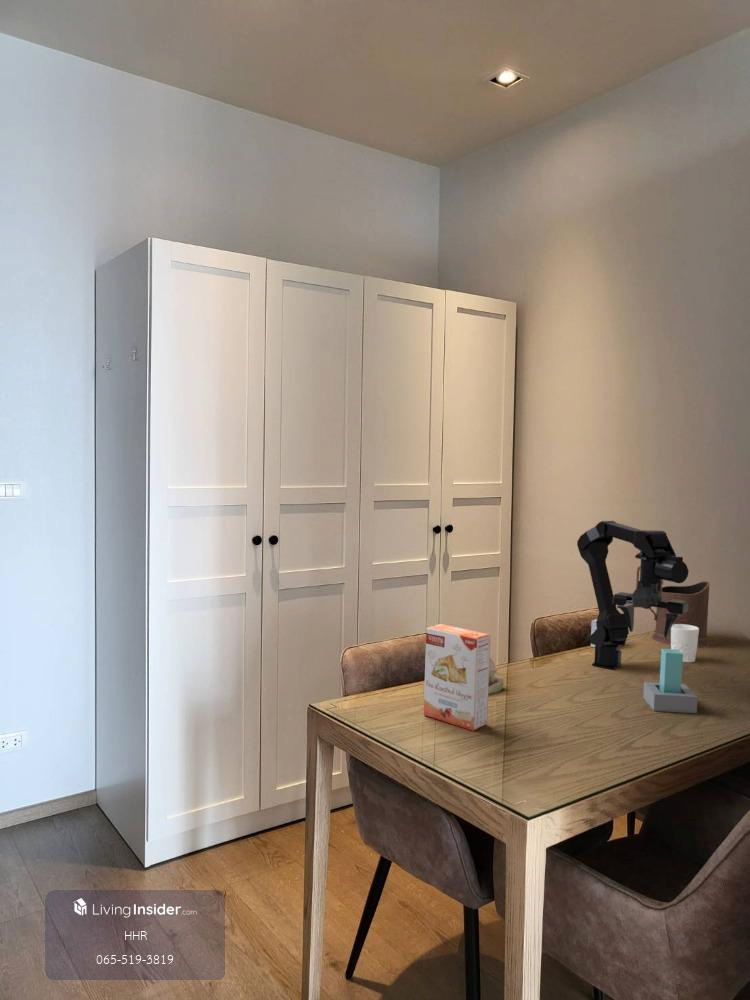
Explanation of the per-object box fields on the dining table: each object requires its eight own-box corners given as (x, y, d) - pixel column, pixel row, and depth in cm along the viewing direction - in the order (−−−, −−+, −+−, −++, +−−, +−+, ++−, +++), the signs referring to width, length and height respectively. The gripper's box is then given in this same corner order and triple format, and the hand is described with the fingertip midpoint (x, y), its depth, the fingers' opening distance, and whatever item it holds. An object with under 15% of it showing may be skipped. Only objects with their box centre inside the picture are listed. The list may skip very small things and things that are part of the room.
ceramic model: (463, 698, 190) (465, 659, 190) (439, 686, 200) (440, 648, 200) (509, 692, 197) (511, 653, 196) (484, 679, 207) (485, 643, 206)
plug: (663, 705, 187) (665, 652, 186) (658, 700, 191) (661, 648, 190) (680, 706, 187) (682, 653, 186) (675, 701, 191) (678, 649, 190)
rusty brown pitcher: (716, 650, 244) (720, 572, 243) (637, 644, 249) (641, 568, 248) (703, 637, 263) (707, 564, 261) (630, 631, 267) (633, 560, 266)
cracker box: (422, 716, 177) (424, 626, 175) (437, 710, 181) (440, 622, 180) (472, 732, 167) (476, 637, 166) (488, 725, 172) (491, 633, 171)
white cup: (663, 657, 234) (665, 625, 234) (682, 655, 238) (684, 623, 237) (683, 664, 227) (685, 630, 227) (703, 661, 230) (705, 628, 230)
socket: (653, 710, 185) (654, 694, 184) (643, 697, 195) (644, 682, 194) (696, 713, 184) (697, 696, 183) (684, 699, 194) (684, 684, 193)
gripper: (606, 576, 206) (603, 633, 207) (678, 585, 195) (674, 645, 196) (620, 571, 215) (618, 626, 216) (690, 580, 203) (687, 638, 204)
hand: (648, 634), depth 208 cm, fingers open, 9 cm apart
